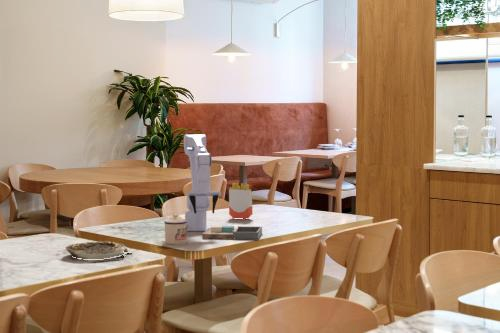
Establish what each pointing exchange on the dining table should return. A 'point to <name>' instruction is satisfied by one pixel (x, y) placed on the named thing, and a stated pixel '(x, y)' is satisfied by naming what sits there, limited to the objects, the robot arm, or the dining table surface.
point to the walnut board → (218, 234)
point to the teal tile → (227, 228)
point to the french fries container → (240, 201)
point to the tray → (248, 233)
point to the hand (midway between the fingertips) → (204, 213)
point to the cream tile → (216, 228)
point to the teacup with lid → (175, 230)
